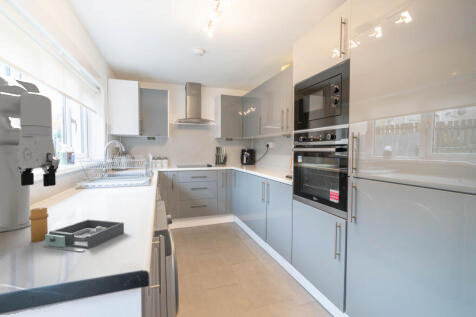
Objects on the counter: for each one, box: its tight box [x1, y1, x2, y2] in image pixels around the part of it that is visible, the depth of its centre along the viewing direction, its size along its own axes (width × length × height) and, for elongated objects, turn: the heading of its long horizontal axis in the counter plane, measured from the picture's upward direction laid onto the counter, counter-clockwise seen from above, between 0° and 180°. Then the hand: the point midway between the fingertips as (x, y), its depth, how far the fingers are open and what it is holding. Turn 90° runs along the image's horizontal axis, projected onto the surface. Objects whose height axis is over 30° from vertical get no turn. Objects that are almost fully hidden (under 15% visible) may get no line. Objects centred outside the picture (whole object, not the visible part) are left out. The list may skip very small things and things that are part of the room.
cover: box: [44, 233, 66, 247], centre depth 63 cm, size 7×1×3 cm, turn 75°
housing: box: [42, 219, 125, 253], centre depth 70 cm, size 16×15×4 cm
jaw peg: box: [29, 207, 49, 243], centre depth 70 cm, size 5×5×10 cm
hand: (38, 185), depth 70 cm, fingers open, 9 cm apart
